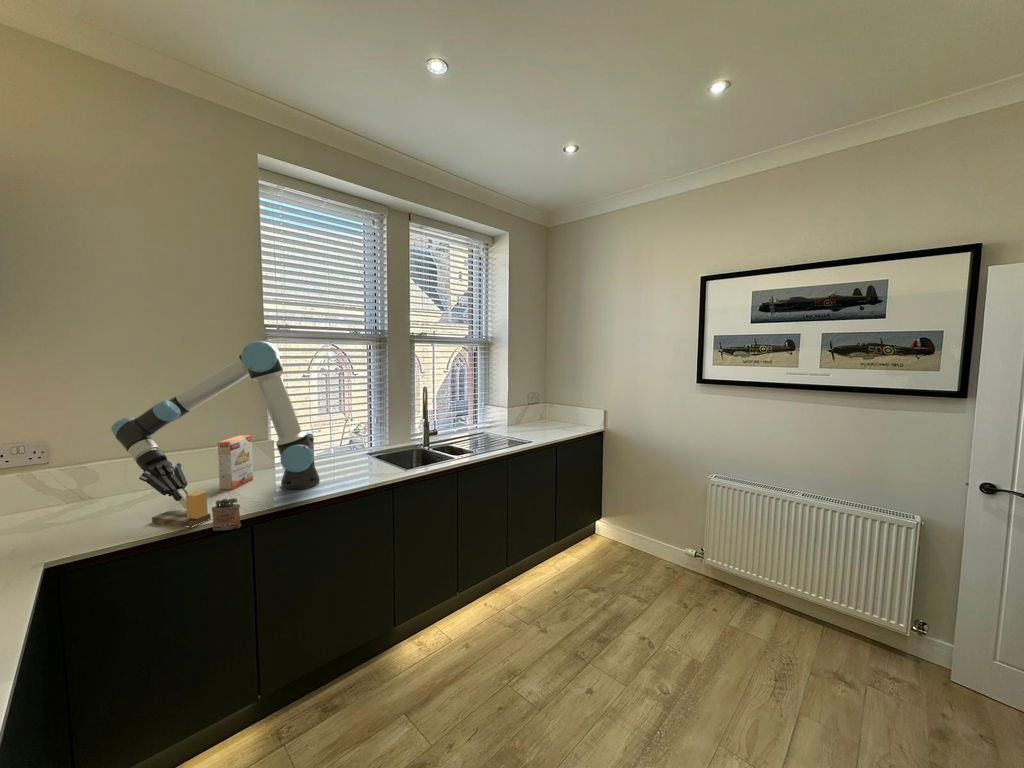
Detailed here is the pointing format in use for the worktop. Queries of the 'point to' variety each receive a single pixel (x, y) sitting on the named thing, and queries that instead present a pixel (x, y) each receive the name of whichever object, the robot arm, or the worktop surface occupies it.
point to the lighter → (226, 515)
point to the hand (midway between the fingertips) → (188, 505)
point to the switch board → (178, 518)
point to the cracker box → (235, 461)
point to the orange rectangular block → (196, 504)
